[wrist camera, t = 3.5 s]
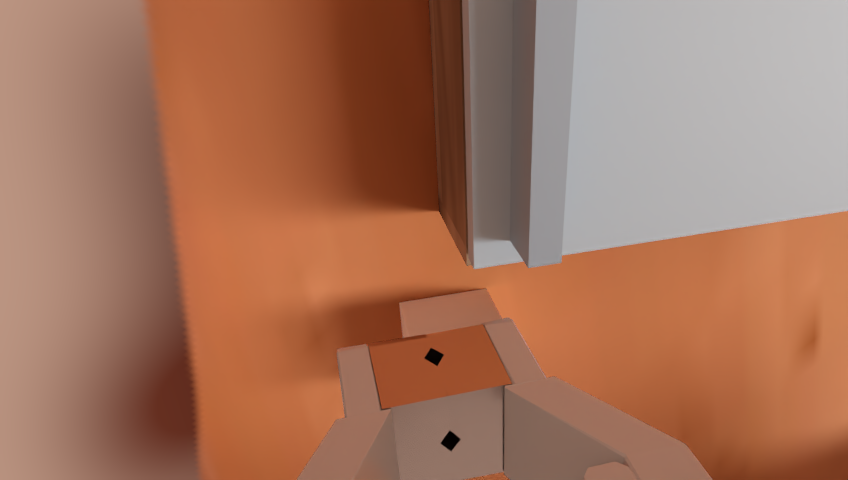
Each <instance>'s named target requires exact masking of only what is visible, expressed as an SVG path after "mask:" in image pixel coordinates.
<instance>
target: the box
mask: <svg viewBox="0 0 848 480" xmlns="http://www.w3.org/2000/svg"><path fill="white" fill-rule="evenodd" d="M429 15H430V35H431V55H432V75H433V95H434V115H435V135H436V155H437V175H438V196H439V212H440V214H441V216H442V218H443V220H444V222H445V224H446V226H447V228H448V230H449V232H450V234H451V236H452V238H453V240H454V242H455V244H456V245H457V247H458V249H459V251H460V253H461V255H462V257H463V259H464V261H465V263H466V265H467V266H469V265H472V264H471V262H470V261H469V258H468V218H467V178H466V138H465V98H464V58H463V18H462V0H429Z"/></svg>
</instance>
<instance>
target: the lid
mask: <svg viewBox="0 0 848 480" xmlns="http://www.w3.org/2000/svg"><path fill="white" fill-rule="evenodd" d="M462 18H463V58H464V98H465V138H466V178H467V218H468V258H469V261H470V262H471V264H472V266H473V268H474V269H478V268H485V267H491V266H498V265H504V264H510V263H517V262H523V261H524V262H525V264H526V265H527V267H528V268H531V267H538V266H544V265H550V264H556V263H561V260H562V255H568V254H574V253H581V252H587V251H593V250H600V249H606V248H613V247H619V246H625V245H632V244H638V243H645V242H651V241H657V240H664V239H670V238H677V237H683V236H689V235H696V234H702V233H708V232H715V231H721V230H728V229H734V228H740V227H747V226H753V225H760V224H766V223H772V222H779V221H785V220H792V219H798V218H804V217H811V216H817V215H824V214H830V213H836V212H843V211H848V0H462Z"/></svg>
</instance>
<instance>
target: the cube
mask: <svg viewBox="0 0 848 480" xmlns="http://www.w3.org/2000/svg"><path fill="white" fill-rule="evenodd" d="M399 305H400V316H401V326H402V336H403V338H404V337H411V336H417V335H423V334H425V335H426V334H431V333H436V332H442V331H447V330H452V329H458V328H463V327H469V326H474V325H480V324H481V323H485V322H489V321H494V320H499V319H502V318H501V316H500V314H499V312H498V310H497V308H496V306H495V304H494V302H493V301H492V299H491V297H490V295H489V293H488V291H487V289H480V290H473V291H467V292H461V293H455V294H449V295H443V296H437V297H431V298H425V299H419V300H413V301H406V302H400V303H399Z"/></svg>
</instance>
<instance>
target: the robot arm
mask: <svg viewBox="0 0 848 480" xmlns="http://www.w3.org/2000/svg"><path fill="white" fill-rule="evenodd" d="M337 361H338V369H339V376H340V384H341V391H342V399H343V406H344V414H345V418H342V419H337V420H336V421H335V422H334V424H333V425H332V427H331V428H330V430H329V431H328V433H327V434H326V436H325V437H324V439H323V440H322V442H321V443H320V445H319V446H318V448H317V450H316V451H315V453H314V454H313V456H312V457H311V459H310V460H309V462H308V463H307V465H306V466H305V468H304V469H303V471H302V472H301V474H300V475H299V477H298V479H297V480H464V479H469V478H474V477H479V476H485V475H490V474H495V473H500V472H504V475H505V476H507V477H508V478H509V479H510V480H713V479H712V478H711V477H710V475H709V474H708V473H707V471H706V470H705V469H704V467H703V466H702V465H701V463H700V462H699V461H698V460H697V458H696V457H695V456H694V454H693V453H692V452H691V450H690V449H689V448H688V446H687V445H686V444H685V443H683V442H681V441H679V440H677V439H675V438H673V437H671V436H669V435H667V434H665V433H663V432H661V431H660V430H658V429H656V428H654V427H652V426H650V425H648V424H646V423H644V422H642V421H640V420H638V419H636V418H634V417H632V416H630V415H629V414H627V413H625V412H623V411H621V410H619V409H617V408H615V407H613V406H611V405H609V404H607V403H605V402H603V401H601V400H599V399H598V398H596V397H594V396H592V395H590V394H588V393H586V392H584V391H582V390H580V389H578V388H576V387H574V386H572V385H570V384H568V383H567V382H565V381H563V380H561V379H559V378H557V377H555V376H554V377H549V378H546V376H545V375H544V373H543V371H542V370H541V368H540V366H539V364H538V363H537V361H536V359H535V357H534V356H533V354H532V352H531V351H530V349H529V347H528V345H527V344H526V342H525V340H524V339H523V337H522V335H521V333H520V332H519V330H518V328H517V327H516V325H515V323H514V321H513V320H512V319H510V318H504V319H499V320H494V321H489V322H485V323H481V324H480V325H474V326H469V327H463V328H458V329H452V330H447V331H442V332H436V333H431V334H426V335H425V334H423V335H417V336H411V337H404V338H398V339H392V340H386V341H379V342H373V343H368V346H367V345H366V344H362V345H356V346H350V347H344V348H339V349H337Z"/></svg>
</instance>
